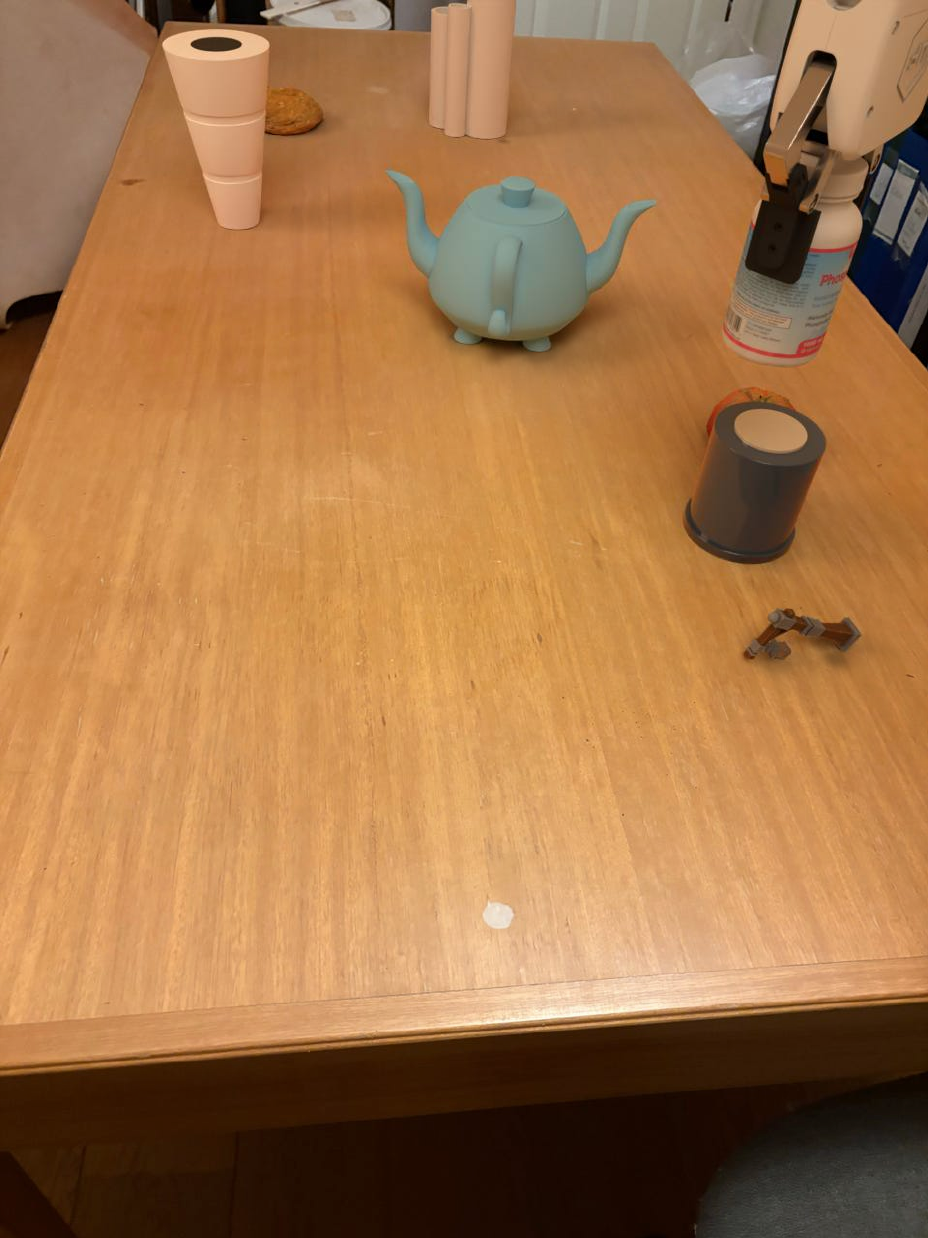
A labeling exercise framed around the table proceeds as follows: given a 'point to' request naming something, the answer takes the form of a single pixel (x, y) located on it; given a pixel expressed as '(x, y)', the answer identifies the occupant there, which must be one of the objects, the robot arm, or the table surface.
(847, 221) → the pill bottle
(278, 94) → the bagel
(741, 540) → the upturned cup
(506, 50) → the vase
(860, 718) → the table surface
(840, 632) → the wooden post with brackets
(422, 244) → the teapot
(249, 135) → the pink tapered cylinder
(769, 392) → the tomato
